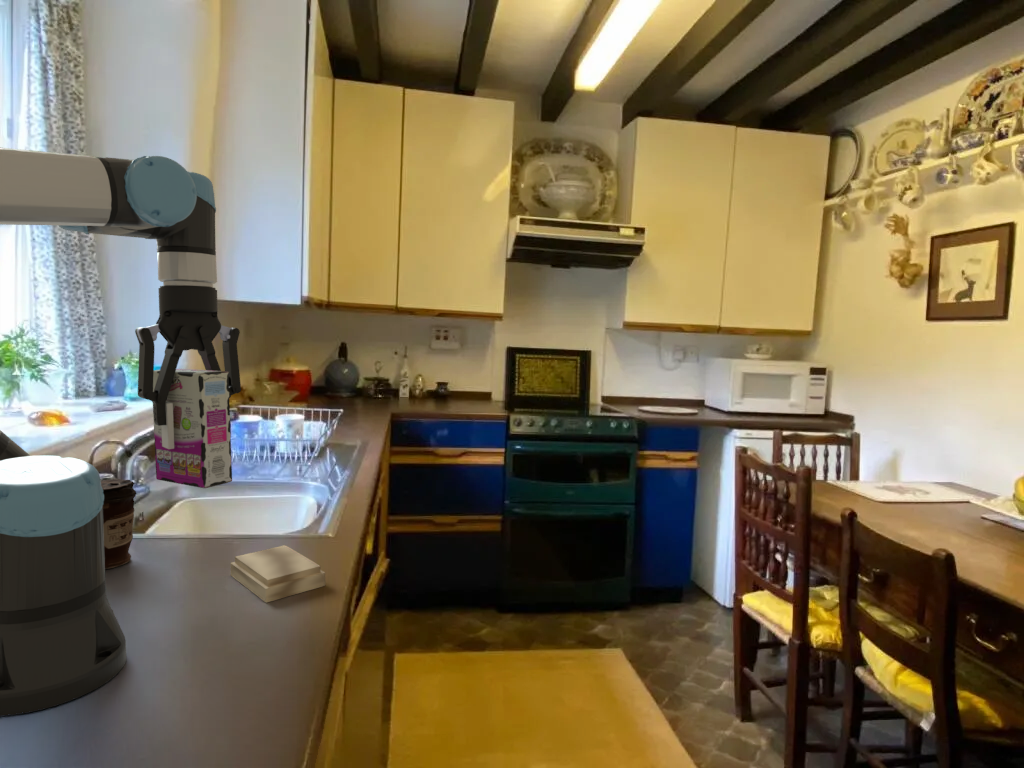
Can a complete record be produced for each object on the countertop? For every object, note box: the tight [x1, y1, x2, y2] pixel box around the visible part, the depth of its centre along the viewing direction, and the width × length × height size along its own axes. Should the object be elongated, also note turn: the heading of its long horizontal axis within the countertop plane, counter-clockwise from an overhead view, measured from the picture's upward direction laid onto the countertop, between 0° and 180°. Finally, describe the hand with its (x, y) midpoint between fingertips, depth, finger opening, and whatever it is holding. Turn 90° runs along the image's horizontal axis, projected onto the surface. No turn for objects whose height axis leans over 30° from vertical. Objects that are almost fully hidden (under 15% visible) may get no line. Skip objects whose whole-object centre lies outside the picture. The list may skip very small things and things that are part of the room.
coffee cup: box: [101, 478, 137, 570], centre depth 103 cm, size 9×8×13 cm
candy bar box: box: [152, 368, 233, 489], centre depth 94 cm, size 11×5×16 cm, turn 63°
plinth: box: [229, 544, 326, 603], centre depth 98 cm, size 9×13×3 cm
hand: (193, 444), depth 95 cm, fingers closed on candy bar box, 6 cm apart
